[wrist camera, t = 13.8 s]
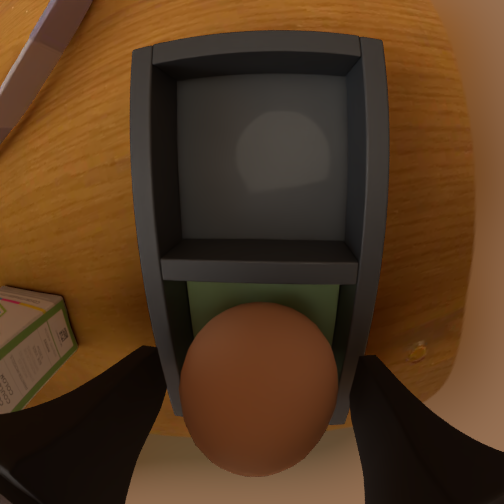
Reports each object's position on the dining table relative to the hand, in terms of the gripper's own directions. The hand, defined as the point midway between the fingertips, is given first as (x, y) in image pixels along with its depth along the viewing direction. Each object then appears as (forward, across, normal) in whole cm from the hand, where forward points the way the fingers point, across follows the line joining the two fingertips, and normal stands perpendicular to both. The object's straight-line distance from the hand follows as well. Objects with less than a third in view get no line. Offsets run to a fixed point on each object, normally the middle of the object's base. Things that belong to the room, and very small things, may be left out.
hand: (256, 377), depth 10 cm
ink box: (+4, +15, +1) cm, 16 cm away
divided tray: (+4, 0, -4) cm, 5 cm away
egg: (+3, 0, 0) cm, 3 cm away
